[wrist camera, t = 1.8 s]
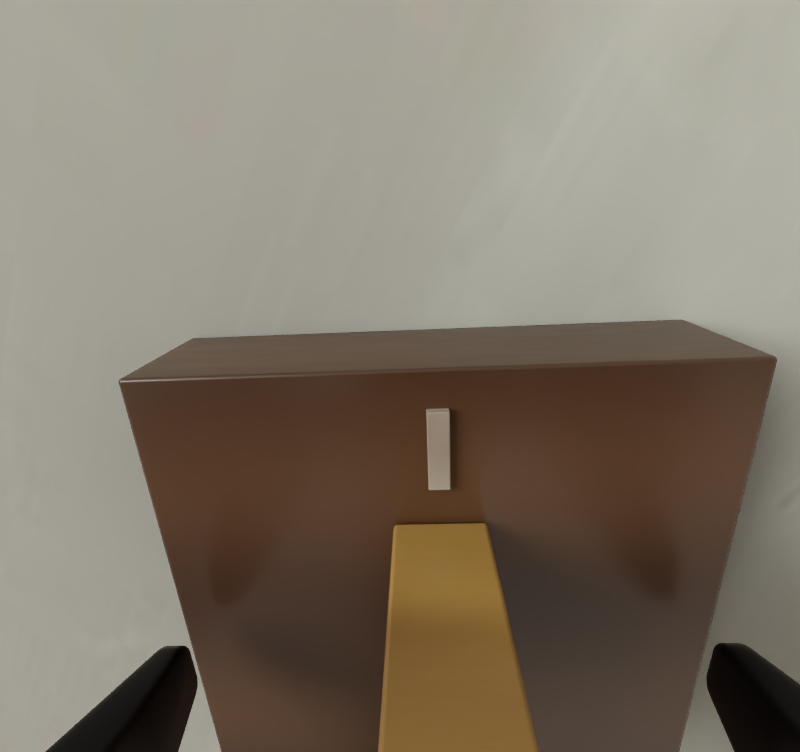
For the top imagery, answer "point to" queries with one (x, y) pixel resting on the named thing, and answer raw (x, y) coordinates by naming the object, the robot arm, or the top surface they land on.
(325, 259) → the top surface
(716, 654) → the robot arm
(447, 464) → the lock plate
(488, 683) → the red-tipped wooden block
